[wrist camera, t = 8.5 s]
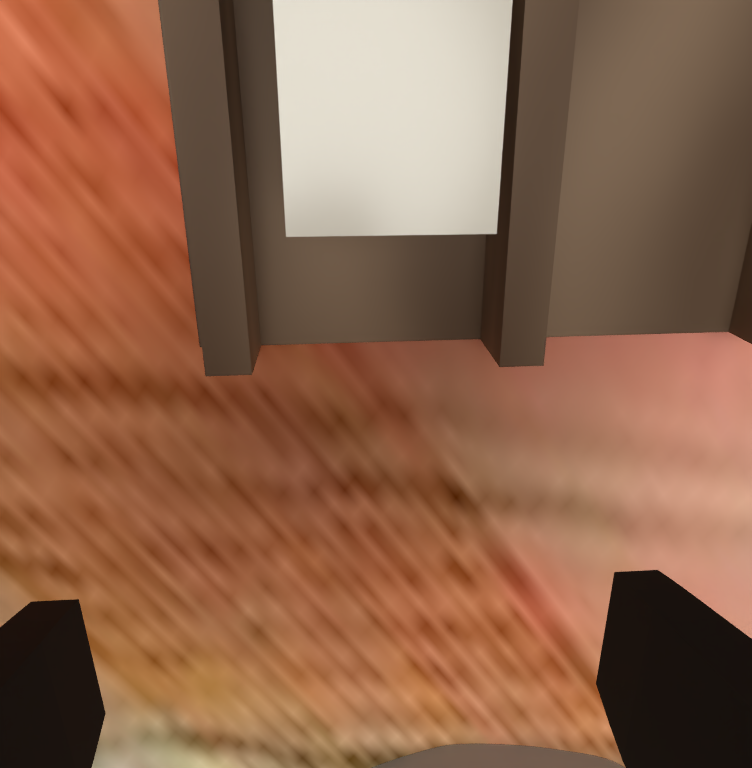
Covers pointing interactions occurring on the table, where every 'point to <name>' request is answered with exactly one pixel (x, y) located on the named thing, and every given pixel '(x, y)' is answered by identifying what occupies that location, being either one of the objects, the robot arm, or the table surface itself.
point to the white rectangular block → (391, 115)
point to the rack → (516, 198)
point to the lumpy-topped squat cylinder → (498, 758)
